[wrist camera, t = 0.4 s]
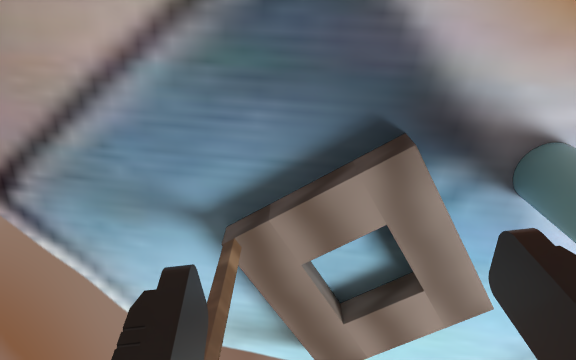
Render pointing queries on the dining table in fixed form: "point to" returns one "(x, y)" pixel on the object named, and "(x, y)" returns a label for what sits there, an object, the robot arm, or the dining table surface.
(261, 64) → the dining table surface
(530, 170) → the peg
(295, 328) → the tan frame
